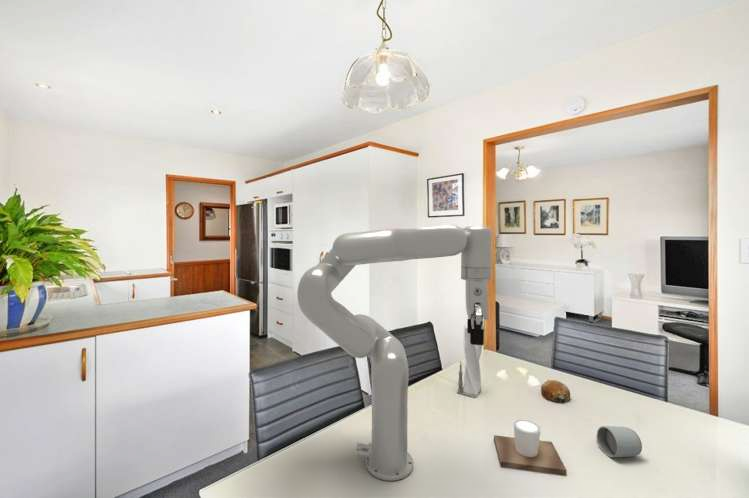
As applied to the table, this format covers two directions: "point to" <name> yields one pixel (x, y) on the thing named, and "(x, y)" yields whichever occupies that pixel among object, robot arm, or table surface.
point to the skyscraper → (470, 368)
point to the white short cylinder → (526, 437)
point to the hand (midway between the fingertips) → (475, 338)
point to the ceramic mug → (619, 441)
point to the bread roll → (555, 391)
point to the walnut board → (541, 462)
